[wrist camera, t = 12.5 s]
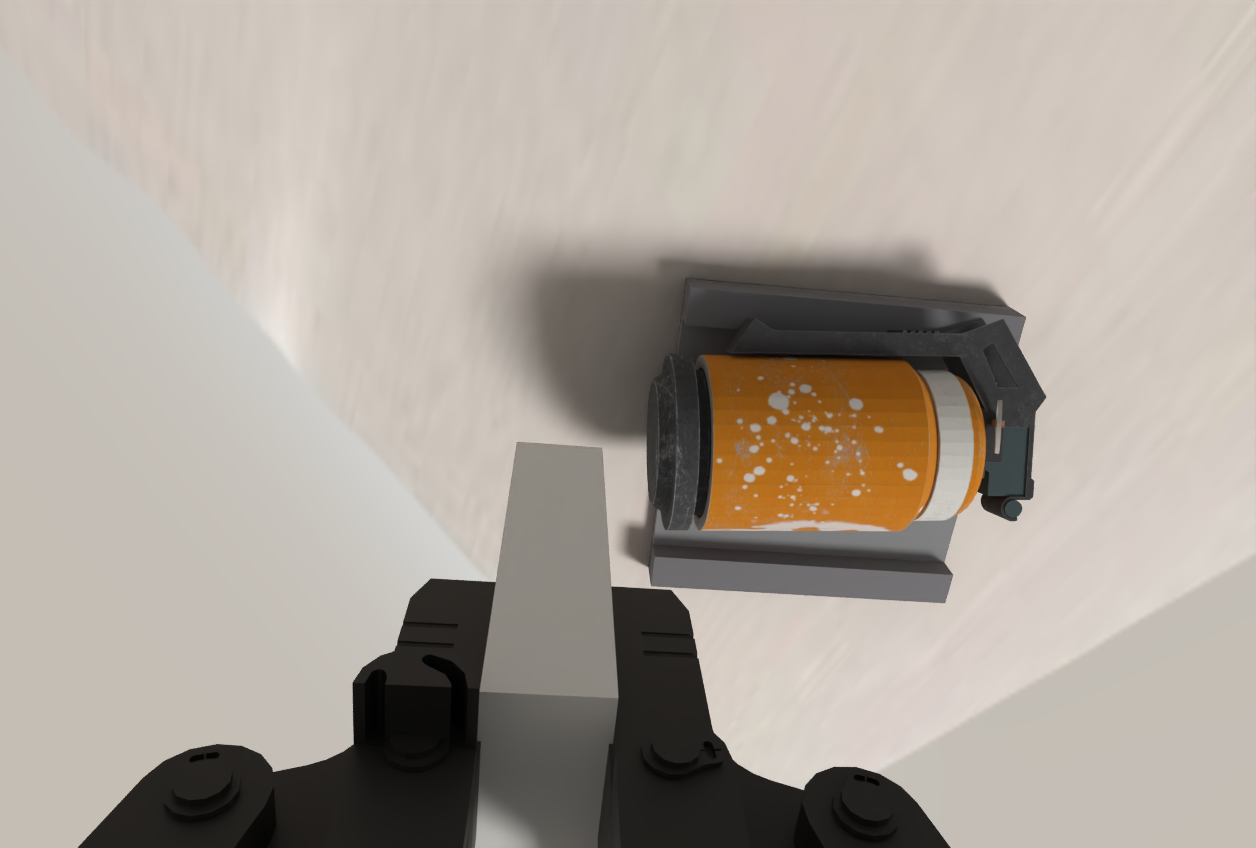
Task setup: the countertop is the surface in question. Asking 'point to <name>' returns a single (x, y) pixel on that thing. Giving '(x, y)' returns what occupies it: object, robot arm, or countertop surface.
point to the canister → (842, 430)
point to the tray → (813, 557)
